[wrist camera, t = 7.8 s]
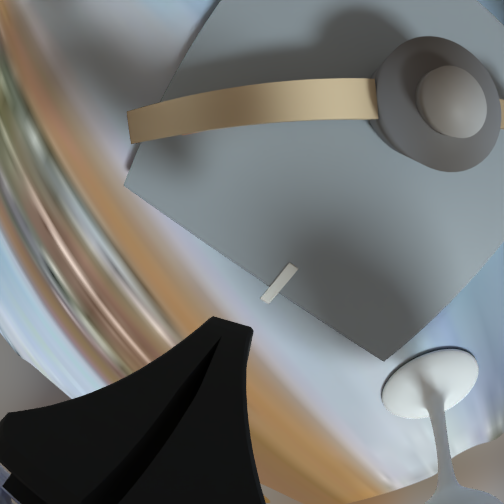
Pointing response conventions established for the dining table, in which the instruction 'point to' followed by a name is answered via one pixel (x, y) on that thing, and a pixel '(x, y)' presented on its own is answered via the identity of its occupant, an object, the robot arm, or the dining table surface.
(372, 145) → the grey flat slab
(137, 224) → the dining table surface
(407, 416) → the wineglass
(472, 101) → the curved bar with hub
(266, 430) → the dining table surface
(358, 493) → the dining table surface
